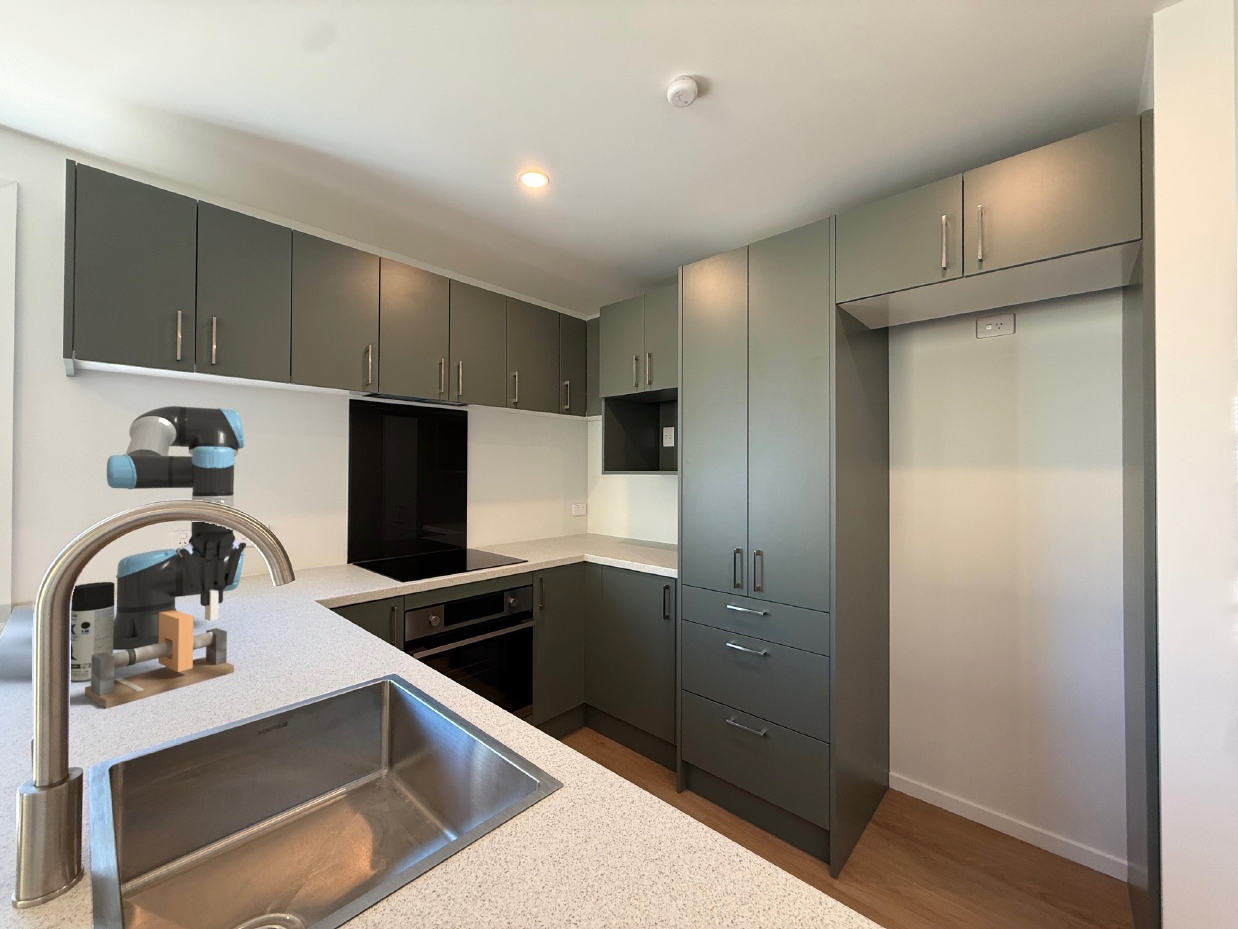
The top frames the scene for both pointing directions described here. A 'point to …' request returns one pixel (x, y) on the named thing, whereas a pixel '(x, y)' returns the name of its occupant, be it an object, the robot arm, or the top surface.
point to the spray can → (90, 626)
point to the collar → (177, 639)
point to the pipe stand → (159, 679)
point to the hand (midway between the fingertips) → (211, 619)
